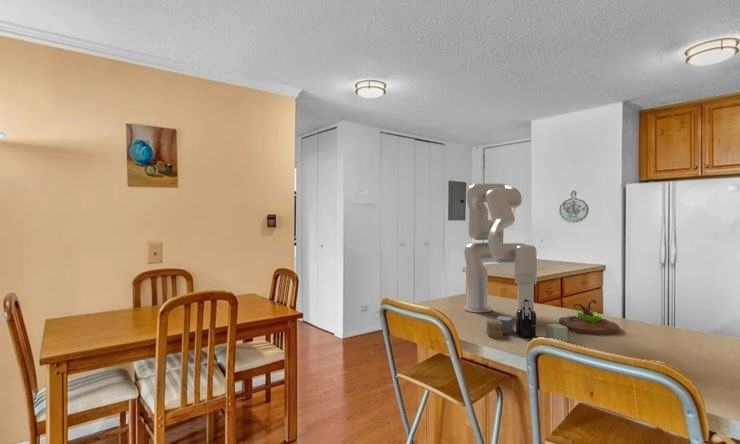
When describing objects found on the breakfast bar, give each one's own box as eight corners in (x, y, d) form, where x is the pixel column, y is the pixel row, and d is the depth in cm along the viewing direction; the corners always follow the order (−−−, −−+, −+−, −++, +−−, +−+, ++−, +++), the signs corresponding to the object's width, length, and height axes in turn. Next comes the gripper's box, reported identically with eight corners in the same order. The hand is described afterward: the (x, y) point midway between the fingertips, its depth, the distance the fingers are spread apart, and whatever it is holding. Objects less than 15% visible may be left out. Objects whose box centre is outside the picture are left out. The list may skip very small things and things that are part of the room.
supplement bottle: (533, 339, 138) (533, 306, 138) (513, 336, 142) (513, 303, 142) (538, 335, 144) (538, 302, 144) (519, 331, 148) (519, 300, 148)
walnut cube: (486, 332, 148) (486, 319, 148) (500, 333, 147) (500, 320, 147) (488, 336, 143) (488, 323, 143) (502, 337, 142) (502, 323, 142)
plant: (629, 337, 141) (629, 306, 141) (572, 335, 144) (572, 305, 143) (605, 322, 161) (604, 295, 160) (554, 321, 163) (554, 294, 163)
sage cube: (546, 338, 140) (546, 324, 140) (559, 337, 140) (559, 323, 140) (554, 342, 135) (553, 328, 135) (567, 342, 135) (567, 327, 135)
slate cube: (500, 328, 153) (499, 316, 153) (513, 330, 150) (513, 317, 150) (496, 331, 149) (496, 318, 149) (509, 333, 146) (509, 320, 146)
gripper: (514, 275, 152) (514, 320, 152) (515, 282, 136) (515, 332, 136) (535, 275, 150) (535, 321, 150) (538, 283, 133) (538, 334, 133)
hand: (526, 326), depth 143 cm, fingers open, 7 cm apart
